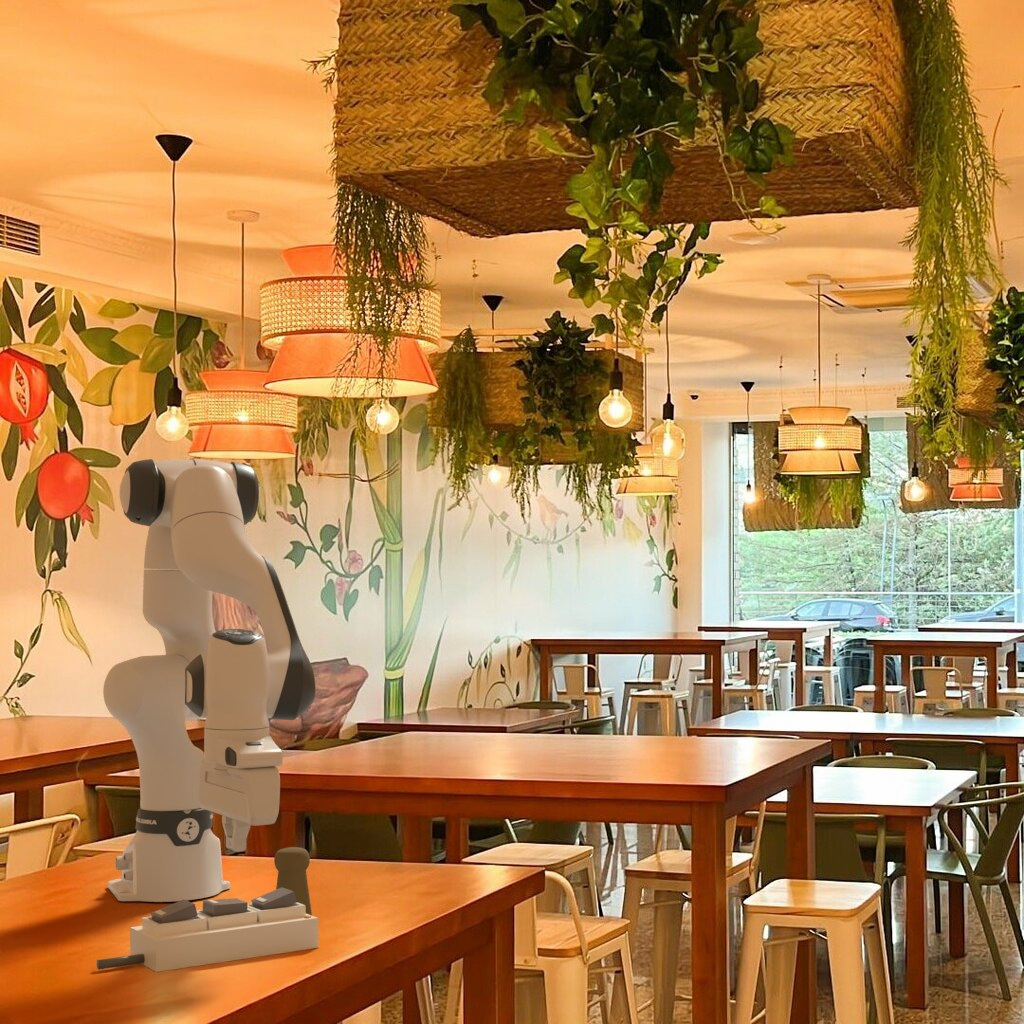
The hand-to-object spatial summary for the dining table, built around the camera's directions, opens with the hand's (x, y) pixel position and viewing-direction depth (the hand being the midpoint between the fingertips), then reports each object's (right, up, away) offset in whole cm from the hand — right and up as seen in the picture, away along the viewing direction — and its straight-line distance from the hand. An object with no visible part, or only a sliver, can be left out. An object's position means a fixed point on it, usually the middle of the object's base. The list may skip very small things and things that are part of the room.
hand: (235, 850), depth 211 cm
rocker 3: (+5, -8, +2) cm, 9 cm away
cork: (+5, -15, +16) cm, 23 cm away
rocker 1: (-7, -7, -6) cm, 12 cm away
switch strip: (-4, -13, -4) cm, 14 cm away
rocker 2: (-1, -7, -2) cm, 8 cm away
